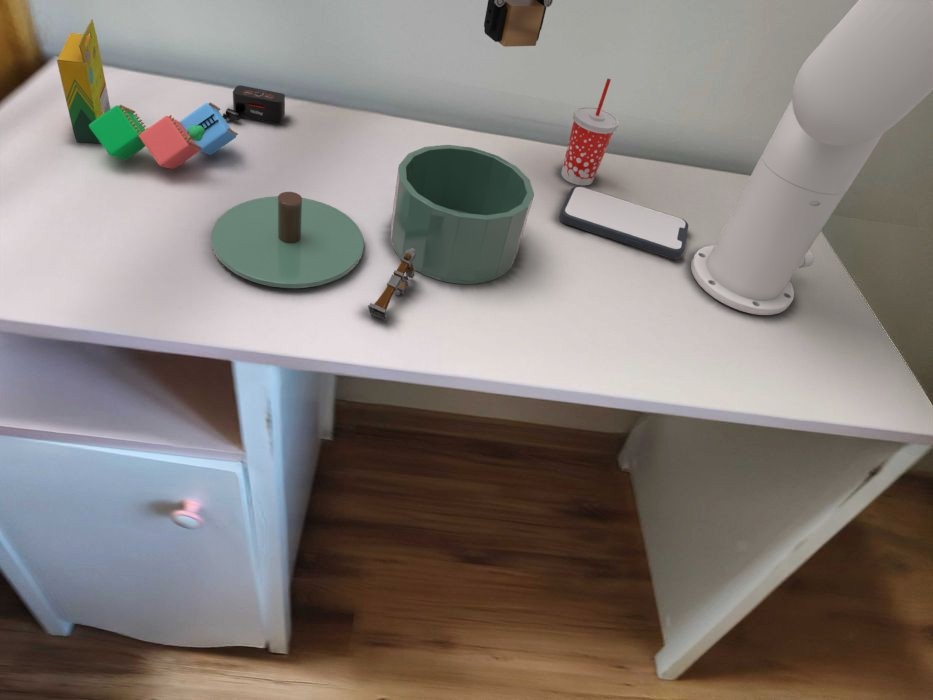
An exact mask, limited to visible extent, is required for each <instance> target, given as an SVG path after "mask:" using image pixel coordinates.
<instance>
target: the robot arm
mask: <svg viewBox="0 0 933 700" xmlns="http://www.w3.org/2000/svg"><path fill="white" fill-rule="evenodd" d="M505 1H506V0H487V4H486V5H487V6H486V11H485V16H484V23H483V28H484V34H485V35H486V36H487V37H489V38H490V39H491V40H492V41H494V42H495V43H499V42H500V41H501V39H502V34H503V29H504V24H505V19H506V14H507V7H506V6H504V3H505ZM536 1H538V2H539V3H540V4H542V5H543V6H545V7H544V12H543V16H542V20H541V25H540V29H539V33H538V38H537V42H538V41H539V38H540V33H541V31H542V27H543V25H544V20H545V15H546V12H547V8H549V7H551V6H552V4H553V1H554V0H536ZM931 92H933V0H857V1H856V3H855V4H853V6H852V7H851V8H850V10H848V12H846V14H845V15H844V17H842V19H841V20H840V21H838V23H837V24H836V26H835V27H834V28H832V30H830V31H829V32H828V33H827V34H826V35H825V36H824V38H822V40H821V41H820V42H819V43H818V45H817V46H815V48H814V49H813V51H812V52H811V54H809V55H808V57H807V58H806V59H805V61H804V62H803V64H802V66H801V67H800V69H799V70H798V73H797V75H796V77H795V80H794V83H793V88H792V93H791V94H792V96H791V100H790V101H789V103H788V105H787V108H786V109H785V111H784V112H783V114H782V117H781V118H780V120H779V122H778V124H777V126H776V128H775V130H774V132H773V133H772V135H771V137H770V139H769V141H768V143H767V145H766V146H765V149H764V150H763V151H762V153H761V155H760V158H759V159H758V161H757V163H756V165H755V166H754V168H753V170H752V172H751V174H750V176H749V178H748V180H747V182H746V184H745V186H744V187H743V190H742V192H741V194H740V196H739V197H738V199H737V201H736V203H735V205H734V207H733V209H732V210H731V213H730V214H729V216H728V218H727V220H726V222H725V224H724V226H723V228H722V230H721V232H720V234H719V235H718V237H717V239H716V241H715V243H714V244H710V245H706V246H703V247H701V248H700V249H698V250H697V251H696V252H695V254H694V255H693V257H692V259H691V262H690V270H691V274H692V276H693V278H694V280H695V281H696V283H698V285H699V286H700V287H701V288H702V289H703V290H704V291H705V292H706V293H707V294H708V295H710V296H711V297H712V298H714V299H715V300H716V301H719V302H720V303H721V304H723V305H726V306H728V307H730V308H732V309H734V310H736V311H740V312H743V313H748V314H751V315H758V316H772V315H777V314H780V313H782V312H785V311H786V310H787V309H788V308H789V307H790V305H791V303H792V302H793V300H794V297H795V289H794V286H793V283H792V282H791V281H790V280H791V278H792V277H793V275H794V274H795V272H797V271H798V270H799V269H802V268H806V267H810V266H812V265H813V264H814V262H815V255H814V253H812V252H811V251H810V249H811V247H812V246H813V244H814V243H815V241H816V239H817V238H818V236H819V235H820V233H821V232H822V231H823V229H824V227H825V225H826V224H827V222H828V221H829V219H830V218H831V217H832V215H833V213H834V211H835V210H836V208H837V207H838V205H839V204H840V202H842V201H841V200H842V199H843V198H844V196H845V194H846V193H847V191H848V190H849V189H850V188H851V186H852V184H853V182H854V181H855V179H856V178H857V176H858V175H859V174H860V172H861V170H862V168H863V167H864V166H865V164H866V162H867V161H868V159H869V157H870V156H871V155H872V152H873V151H874V149H875V148H876V146H877V145H878V143H879V141H880V140H881V138H882V137H883V134H885V133H886V132H887V131H888V130H890V129H891V128H892V127H894V126H895V125H896V124H898V123H899V122H900V121H901V120H902V119H903V118H904V117H905V116H906V115H908V114H909V113H910V112H911V111H912V110H913V109H914V108H915V107H917V106H918V105H919V104H920V103H921V102H922V101H923V100H924V99H925V98H926V97H927V96H929V94H931Z"/></svg>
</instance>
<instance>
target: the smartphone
mask: <svg viewBox="0 0 933 700" xmlns="http://www.w3.org/2000/svg"><path fill="white" fill-rule="evenodd" d="M558 219H559V221H560V222H561V223H563V224H564V225H567V226H570V227H573V228H577V229H579V230H581V231H585V232H588V233H591V234H595V235H598V236H601V237H604V238H607V239H610V240H613V241H616V242H619V243H621V244H625V245H628V246H631V247H633V248H634V247H635V248H637V249H641V250H644V251H646V252H650V253H653V254H655V255H660V256H662V257H665V258H669V259H672V260H677V259H681V257H682V256H683V253H684V251H685V247H686V241H687V236H688V231H689V223H688V222H687V221H686V220H685V219H684V218H681V217H679V216H675V215H673V214H670V213H666V212H663V211H660V210H656V209H653V208H651V207H648V206H645V205H641V204H638V203H635V202H631V201H628V200H626V199H622V198H619V197H616V196H613V195H610V194H607V193H603V192H601V191H596V190H594V189H590V188H588V187H585V186H582V185H574V186H572V187H571V188H570V190H569V193H568V195H567V197H566V198H565V201H564V203H563V205H562V207H561V209H560V213H559V218H558Z"/></svg>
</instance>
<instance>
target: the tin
mask: <svg viewBox="0 0 933 700" xmlns="http://www.w3.org/2000/svg"><path fill="white" fill-rule="evenodd" d="M395 183H396V184H395V191H394V199H393V206H392V207H393V208H392V213H391V214H392V215H391V221H390V236H389V237H390V243H391V246H392V249H393V251H394V252H395V254H396V255H397V256H398V258H399V259H400V260H401V259H402V258H403V256H404V254H405V253H406V250H409V249H411V248H414V249H415V251H416V252H415V257H416V258H415V259H414V260H413V262H412V263H413V268H414V270H415V271H416V272H418V273H420V274H422V275H424V276H425V277H430V278H431V279H433V280H437V281H441V282H445V283H449V284H459V285H477V284H483V283H487V282H492V281H494V280H497V279H499V278H501V277H502V276H504V275H505V274H506V273H508V272H509V271H510V269H511V268H512V266H513V265H514V263H515V261H516V257H517V255H518V252H519V249H520V245H521V241H522V238H523V234H524V231H525V227H526V225H527V221H528V218H529V214H530V211H531V207H532V203H533V200H534V196H535V193H534V190H533V185H532V182H531V180H530V179H529V177H528V176H526V175H525V173H524V172H523V171H521V169H520V168H519V167H518V166H517V165H515V164H514V163H511V162H510V161H508V160H506V159H504V158H502V157H501V156H499V155H497V154H494V153H492V152H487V151H485V150H482V149H479V148H475V147H471V146H463V145H454V144H441V145H431V146H428V145H427V146H423V147H421V148H418V149H416V150H413V151H411V152H409V153H408V154H406V155H405V157H404V158H403V159H402V160H401V162H400V163H399V164H398V168H397V175H396V182H395Z"/></svg>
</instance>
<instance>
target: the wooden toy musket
mask: <svg viewBox="0 0 933 700" xmlns="http://www.w3.org/2000/svg"><path fill="white" fill-rule="evenodd" d="M415 252H416V251H415V249H414V248H411V249H409V250H406V253H405V254H404V256H403V258H402V259H400V263H399V265H398V267H397V268H396V269H395V270H394V271H392V272H393V274H391V276H390V279H389V280H388V281H387V283H386V287H385V288H384V290H383V292H382V293H381V295H379V296H378V299H377V300H376V301H375V302H374V303H371V302H370V303H369V304H368V305H367V308H368V311H369V312H368V313H369V314H370V315H372V316H374V317H376V318H379V319H381V320H383V321H386V322H387V318H388V314H387V309H388V307H389V304H390V303H391V300H392V297H393V295H394V294H395V295H396V296H401V294H402V295H404V294H405V293H404V292H405V290H406V288H407V287H408V288H409V280H410V279H413V278H414V276H415V273H416V272H415V271H416V270H414V268H413V263H412V262H413V260H414V259H415V258H416V257H415ZM409 278H410V279H409Z"/></svg>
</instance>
